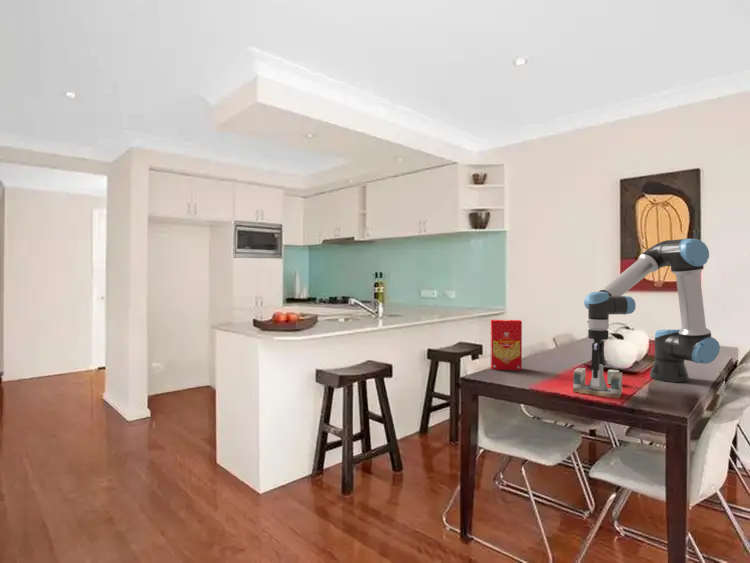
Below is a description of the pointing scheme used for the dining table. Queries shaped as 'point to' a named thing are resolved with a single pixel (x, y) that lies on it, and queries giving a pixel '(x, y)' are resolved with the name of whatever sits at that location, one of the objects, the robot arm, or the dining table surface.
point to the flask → (602, 381)
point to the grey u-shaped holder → (611, 392)
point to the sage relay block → (610, 375)
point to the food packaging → (506, 344)
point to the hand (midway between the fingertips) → (597, 383)
